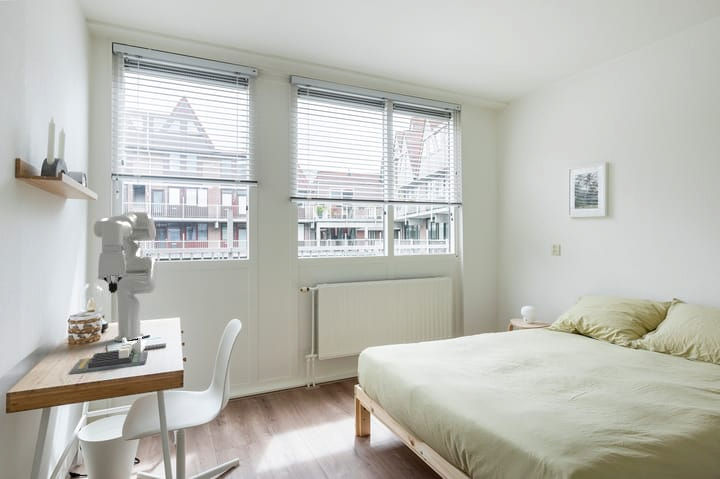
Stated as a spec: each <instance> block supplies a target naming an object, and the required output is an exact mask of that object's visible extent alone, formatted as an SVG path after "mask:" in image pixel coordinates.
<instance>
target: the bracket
mask: <svg viewBox="0 0 720 479" xmlns="http://www.w3.org/2000/svg"><path fill="white" fill-rule="evenodd" d="M128 342H132V349H134V353H137V352H144V350H145V349H146V347H147V346H146V344H147V345H148V340H147V339H143V338H142V336H139V337H138V340H133V341H127V340H126V338H123V339H122V342H121V345H122V344H123V343H128ZM145 346H146V347H145Z"/></svg>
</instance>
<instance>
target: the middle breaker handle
mask: <svg viewBox="0 0 720 479" xmlns="http://www.w3.org/2000/svg"><path fill="white" fill-rule="evenodd" d="M125 348H129V354H130V352H131V347H130V345H126V346H122V345H121V346H120V349H125Z"/></svg>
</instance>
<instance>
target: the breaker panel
mask: <svg viewBox="0 0 720 479" xmlns="http://www.w3.org/2000/svg"><path fill="white" fill-rule="evenodd" d="M148 356H149V351H142V352H137V353H134V349H132V350H131V352H130V354H129V357H128V358H120V359H119V350H115V351H114V350H113V351H106V352H98V353H97V352H95V353H94V354H93V356H91V358H90V357H87V358H82V359H81V358H80V359H79V360H78V362H77V363H76V364H75V365H74V366H73V367H72V370H71V374H81V373H87V372H97V371H104V370H111V369H112V370H113V369H118V368H119V369H121V368H127V367H135V366H143V365H146V363H147V358H148Z"/></svg>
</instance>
